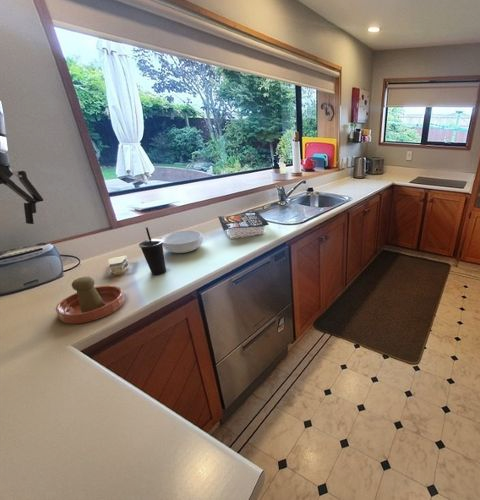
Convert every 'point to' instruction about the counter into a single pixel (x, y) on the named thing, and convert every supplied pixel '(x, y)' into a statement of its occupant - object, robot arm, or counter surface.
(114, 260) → the sandwich
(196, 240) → the cereal bowl
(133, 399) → the counter surface
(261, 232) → the food packaging
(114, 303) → the dish
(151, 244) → the drinking cup
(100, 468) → the counter surface
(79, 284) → the cork
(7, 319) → the counter surface
